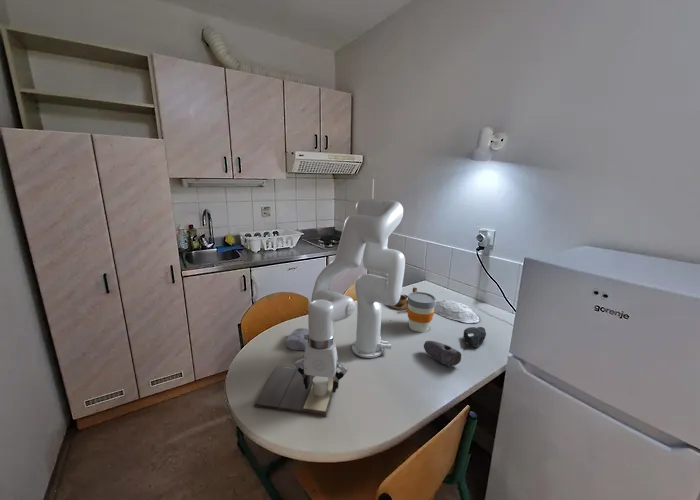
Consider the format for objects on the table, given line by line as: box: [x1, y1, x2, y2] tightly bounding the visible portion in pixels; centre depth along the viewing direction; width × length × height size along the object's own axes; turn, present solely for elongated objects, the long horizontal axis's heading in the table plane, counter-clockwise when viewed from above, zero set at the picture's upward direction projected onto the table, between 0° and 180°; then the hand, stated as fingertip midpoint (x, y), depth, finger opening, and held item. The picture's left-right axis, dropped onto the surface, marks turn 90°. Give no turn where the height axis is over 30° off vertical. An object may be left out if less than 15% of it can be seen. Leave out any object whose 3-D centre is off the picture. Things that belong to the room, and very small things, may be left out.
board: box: [254, 365, 334, 417], centre depth 97 cm, size 22×18×1 cm
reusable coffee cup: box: [406, 291, 436, 333], centre depth 136 cm, size 13×13×15 cm
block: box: [285, 327, 309, 351], centre depth 123 cm, size 12×5×10 cm
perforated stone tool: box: [423, 340, 462, 368], centre depth 113 cm, size 15×5×7 cm, turn 40°
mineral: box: [463, 326, 487, 348], centre depth 126 cm, size 10×9×6 cm
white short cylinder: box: [313, 376, 328, 396], centre depth 95 cm, size 5×5×4 cm
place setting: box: [390, 287, 418, 314], centre depth 160 cm, size 18×20×6 cm
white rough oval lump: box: [434, 299, 480, 324], centre depth 152 cm, size 16×25×7 cm, turn 45°
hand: (321, 387), depth 95 cm, fingers open, 8 cm apart
